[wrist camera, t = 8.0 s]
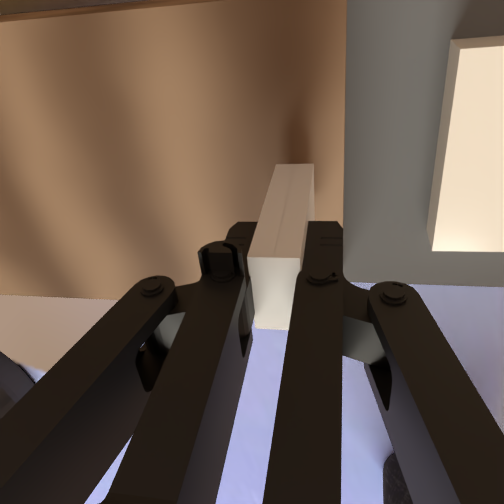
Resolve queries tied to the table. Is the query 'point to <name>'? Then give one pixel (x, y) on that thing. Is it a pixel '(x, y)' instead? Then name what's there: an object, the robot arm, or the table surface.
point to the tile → (470, 151)
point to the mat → (403, 138)
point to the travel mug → (394, 483)
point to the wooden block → (158, 133)
